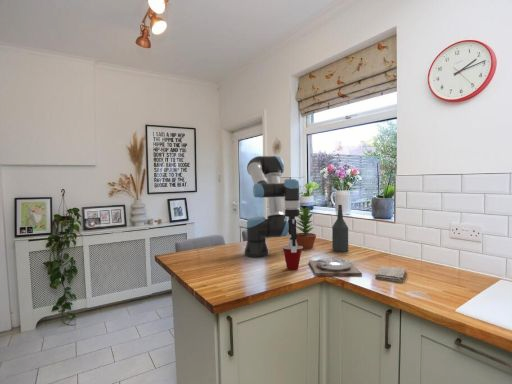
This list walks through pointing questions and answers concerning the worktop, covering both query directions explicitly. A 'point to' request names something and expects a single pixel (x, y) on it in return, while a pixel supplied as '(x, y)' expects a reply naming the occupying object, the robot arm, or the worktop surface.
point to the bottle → (340, 233)
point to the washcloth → (390, 274)
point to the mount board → (332, 273)
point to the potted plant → (305, 230)
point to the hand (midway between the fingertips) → (292, 249)
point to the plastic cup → (292, 257)
